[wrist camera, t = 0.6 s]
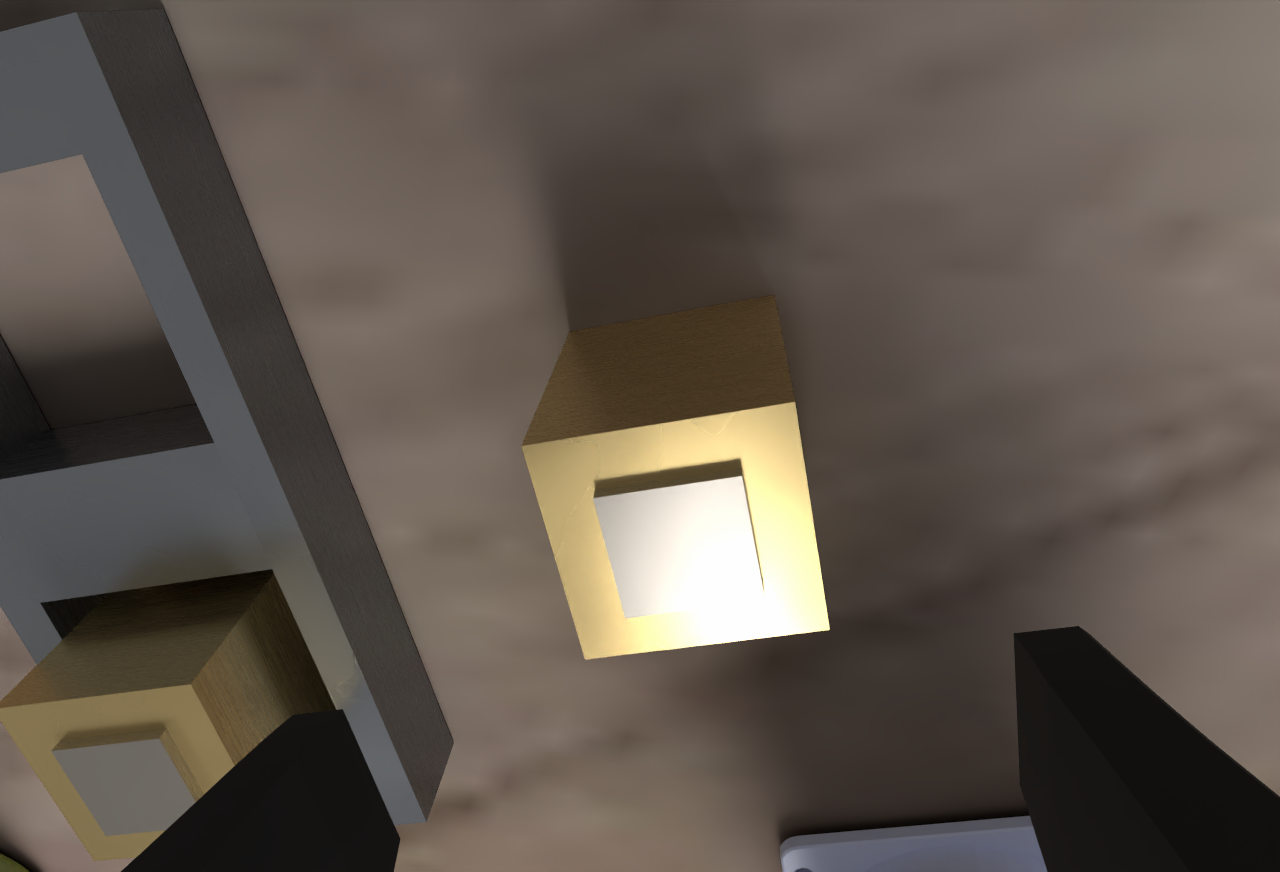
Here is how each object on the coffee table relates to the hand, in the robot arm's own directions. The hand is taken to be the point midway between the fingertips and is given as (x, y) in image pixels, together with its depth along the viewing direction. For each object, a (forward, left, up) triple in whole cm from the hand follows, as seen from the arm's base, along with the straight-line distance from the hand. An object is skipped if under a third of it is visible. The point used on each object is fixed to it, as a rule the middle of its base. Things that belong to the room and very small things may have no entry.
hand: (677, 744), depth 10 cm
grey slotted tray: (0, +11, -9) cm, 15 cm away
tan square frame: (-4, +11, -9) cm, 15 cm away
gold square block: (0, 0, -9) cm, 9 cm away
